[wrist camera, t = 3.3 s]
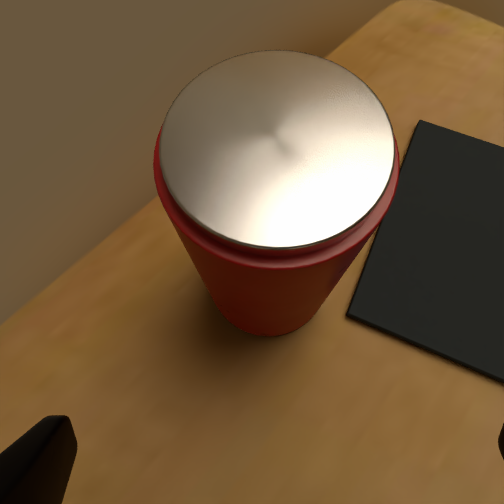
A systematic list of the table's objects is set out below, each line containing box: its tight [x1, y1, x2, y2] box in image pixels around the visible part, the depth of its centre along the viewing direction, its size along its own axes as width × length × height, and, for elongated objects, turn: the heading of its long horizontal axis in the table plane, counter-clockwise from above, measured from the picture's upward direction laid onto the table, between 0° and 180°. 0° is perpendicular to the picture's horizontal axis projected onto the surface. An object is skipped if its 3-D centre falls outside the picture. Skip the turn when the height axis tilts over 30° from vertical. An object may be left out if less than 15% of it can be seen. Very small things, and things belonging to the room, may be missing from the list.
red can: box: [153, 50, 400, 336], centre depth 16 cm, size 7×7×13 cm
